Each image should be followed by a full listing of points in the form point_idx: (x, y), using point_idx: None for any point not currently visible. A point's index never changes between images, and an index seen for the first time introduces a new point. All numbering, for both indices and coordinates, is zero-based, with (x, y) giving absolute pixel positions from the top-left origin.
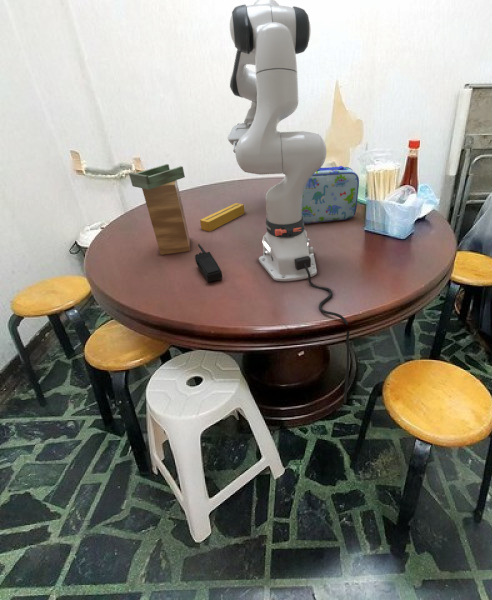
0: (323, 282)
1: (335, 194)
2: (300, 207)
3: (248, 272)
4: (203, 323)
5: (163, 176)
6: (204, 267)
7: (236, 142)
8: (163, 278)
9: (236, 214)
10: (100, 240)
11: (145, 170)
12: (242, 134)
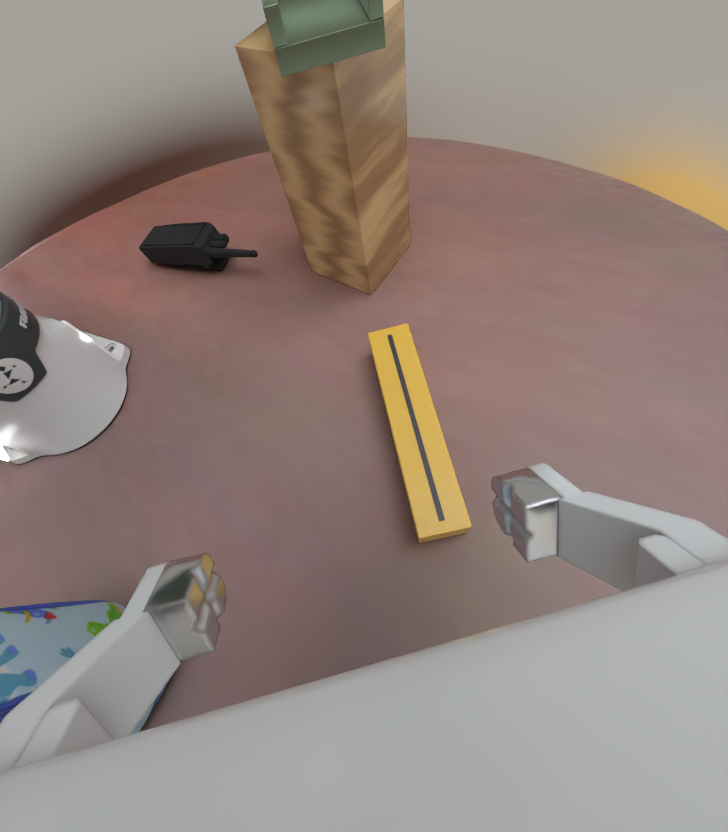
0: None
1: None
2: None
3: (125, 310)
4: (108, 207)
5: None
6: (168, 226)
7: (654, 564)
8: (258, 205)
9: (404, 483)
10: (544, 161)
11: None
12: (703, 798)
